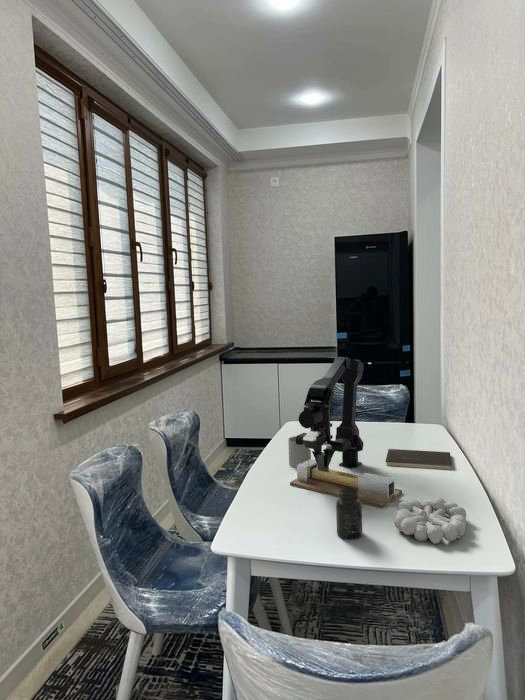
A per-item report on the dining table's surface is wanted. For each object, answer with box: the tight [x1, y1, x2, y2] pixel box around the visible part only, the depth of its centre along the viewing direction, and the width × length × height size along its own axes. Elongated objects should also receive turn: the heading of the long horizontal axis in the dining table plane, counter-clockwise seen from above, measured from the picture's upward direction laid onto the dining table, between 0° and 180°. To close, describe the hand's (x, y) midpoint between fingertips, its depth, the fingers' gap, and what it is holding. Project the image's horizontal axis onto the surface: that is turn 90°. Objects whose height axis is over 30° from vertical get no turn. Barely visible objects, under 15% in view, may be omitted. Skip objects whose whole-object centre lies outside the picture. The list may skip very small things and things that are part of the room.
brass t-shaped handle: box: [310, 451, 361, 488], centre depth 167 cm, size 3×22×8 cm, turn 51°
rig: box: [296, 458, 396, 500], centre depth 166 cm, size 8×32×5 cm, turn 51°
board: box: [289, 478, 403, 509], centre depth 166 cm, size 14×34×1 cm, turn 51°
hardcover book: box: [384, 448, 453, 470], centre depth 191 cm, size 16×23×2 cm
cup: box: [287, 435, 312, 469], centre depth 191 cm, size 8×8×10 cm
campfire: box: [393, 496, 468, 545], centre depth 137 cm, size 22×21×6 cm
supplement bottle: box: [335, 488, 363, 541], centre depth 134 cm, size 7×7×12 cm
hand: (323, 466), depth 171 cm, fingers open, 3 cm apart
